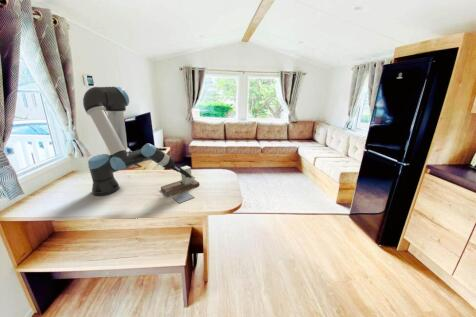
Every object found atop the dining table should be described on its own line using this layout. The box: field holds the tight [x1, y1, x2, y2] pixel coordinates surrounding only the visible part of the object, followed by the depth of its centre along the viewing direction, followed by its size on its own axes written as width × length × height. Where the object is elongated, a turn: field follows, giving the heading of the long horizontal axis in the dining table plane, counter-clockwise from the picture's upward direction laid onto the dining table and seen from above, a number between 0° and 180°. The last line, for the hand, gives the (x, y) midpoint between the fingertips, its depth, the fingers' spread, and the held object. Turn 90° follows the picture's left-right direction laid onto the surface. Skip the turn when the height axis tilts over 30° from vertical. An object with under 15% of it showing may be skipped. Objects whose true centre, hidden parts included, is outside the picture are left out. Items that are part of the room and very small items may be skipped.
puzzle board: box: [160, 179, 200, 197], centre depth 138 cm, size 12×22×2 cm, turn 132°
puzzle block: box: [180, 165, 192, 186], centre depth 139 cm, size 5×5×13 cm
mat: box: [171, 190, 195, 204], centre depth 126 cm, size 10×10×1 cm
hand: (191, 177), depth 142 cm, fingers closed on puzzle block, 5 cm apart
